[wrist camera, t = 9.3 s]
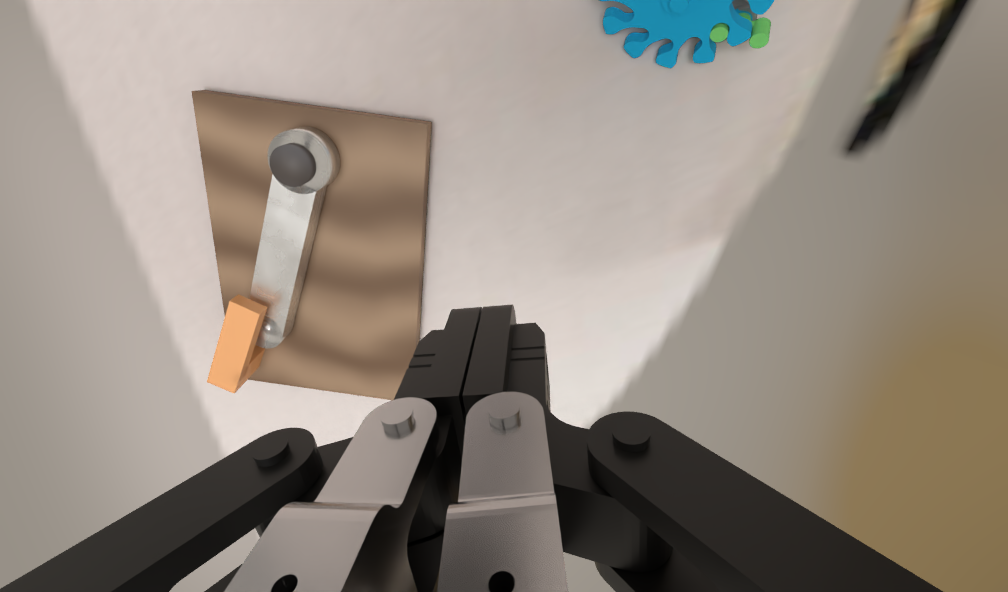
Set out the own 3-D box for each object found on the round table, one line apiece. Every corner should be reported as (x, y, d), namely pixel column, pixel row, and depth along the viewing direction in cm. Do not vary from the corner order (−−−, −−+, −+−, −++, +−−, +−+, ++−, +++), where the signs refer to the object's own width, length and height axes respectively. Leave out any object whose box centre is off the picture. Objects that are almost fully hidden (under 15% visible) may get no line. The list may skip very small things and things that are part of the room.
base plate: (204, 90, 36) (156, 93, 31) (431, 122, 36) (416, 130, 31) (242, 368, 47) (211, 400, 42) (416, 393, 46) (403, 428, 42)
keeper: (257, 279, 41) (229, 300, 37) (284, 292, 41) (259, 314, 37) (233, 356, 44) (206, 381, 41) (259, 366, 44) (234, 393, 41)
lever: (287, 116, 34) (273, 119, 33) (346, 141, 35) (335, 145, 33) (247, 326, 42) (234, 337, 41) (295, 343, 43) (285, 356, 41)
